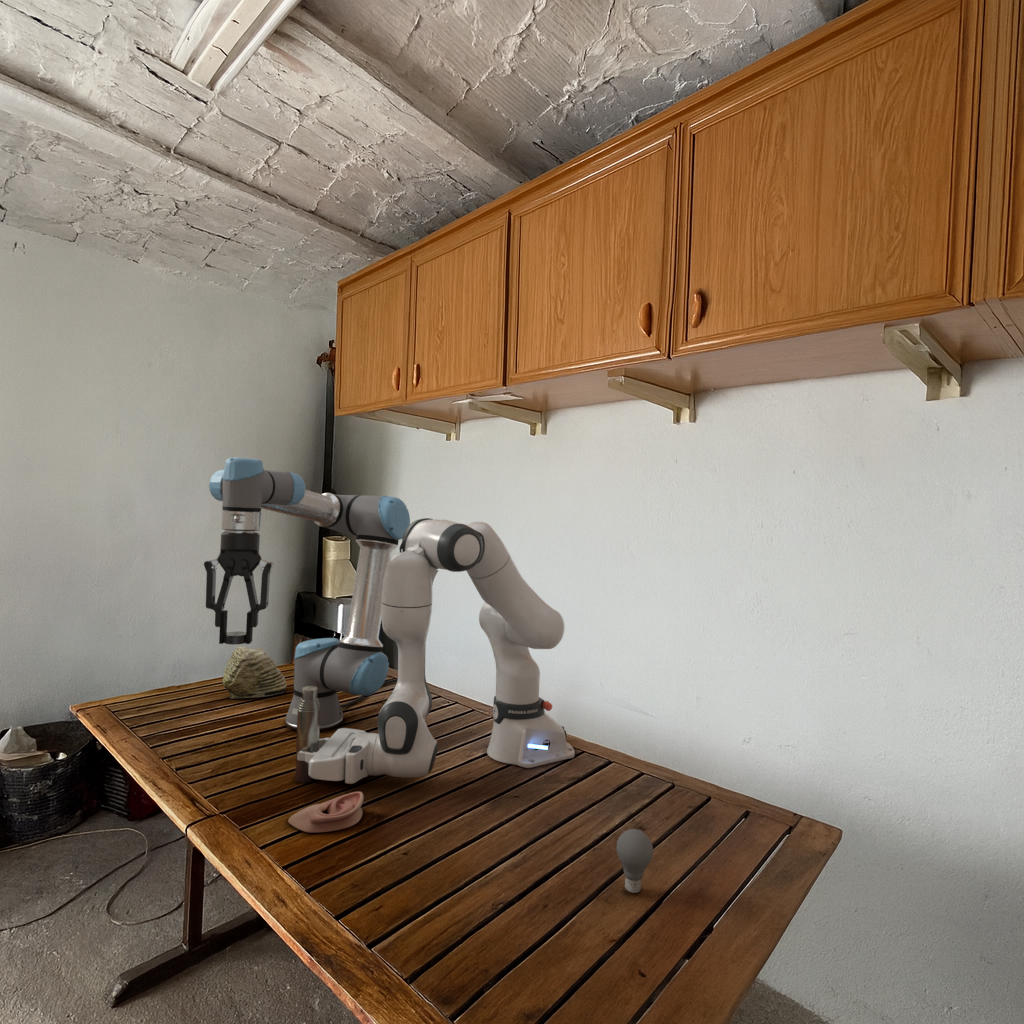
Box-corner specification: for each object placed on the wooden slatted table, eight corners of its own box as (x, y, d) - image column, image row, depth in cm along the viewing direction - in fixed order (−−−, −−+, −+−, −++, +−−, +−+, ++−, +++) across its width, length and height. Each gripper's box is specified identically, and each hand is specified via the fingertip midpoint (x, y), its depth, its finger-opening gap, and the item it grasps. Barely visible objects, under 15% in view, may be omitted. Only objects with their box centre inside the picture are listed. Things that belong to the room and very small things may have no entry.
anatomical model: (280, 807, 120) (311, 781, 131) (279, 828, 120) (310, 800, 131) (344, 817, 117) (370, 790, 129) (343, 838, 118) (370, 809, 129)
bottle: (292, 775, 143) (296, 686, 143) (314, 771, 146) (318, 684, 145) (297, 784, 139) (301, 692, 138) (320, 780, 141) (323, 689, 141)
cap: (222, 644, 130) (223, 636, 130) (224, 640, 135) (225, 631, 135) (247, 644, 132) (247, 635, 132) (248, 639, 136) (248, 631, 136)
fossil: (218, 695, 195) (220, 647, 195) (278, 685, 208) (279, 640, 207) (228, 703, 189) (230, 653, 188) (289, 692, 201) (290, 645, 201)
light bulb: (610, 879, 108) (613, 822, 108) (644, 879, 109) (647, 822, 109) (619, 902, 102) (622, 840, 102) (655, 901, 103) (658, 840, 103)
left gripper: (190, 530, 128) (185, 646, 128) (281, 534, 131) (276, 646, 131) (201, 529, 135) (196, 638, 135) (287, 532, 138) (282, 638, 139)
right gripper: (377, 723, 152) (320, 719, 152) (351, 757, 131) (285, 753, 132) (376, 749, 152) (319, 745, 153) (349, 787, 131) (284, 783, 132)
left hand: (235, 642), depth 133 cm, fingers closed on cap, 4 cm apart
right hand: (303, 749), depth 142 cm, fingers closed on bottle, 5 cm apart
